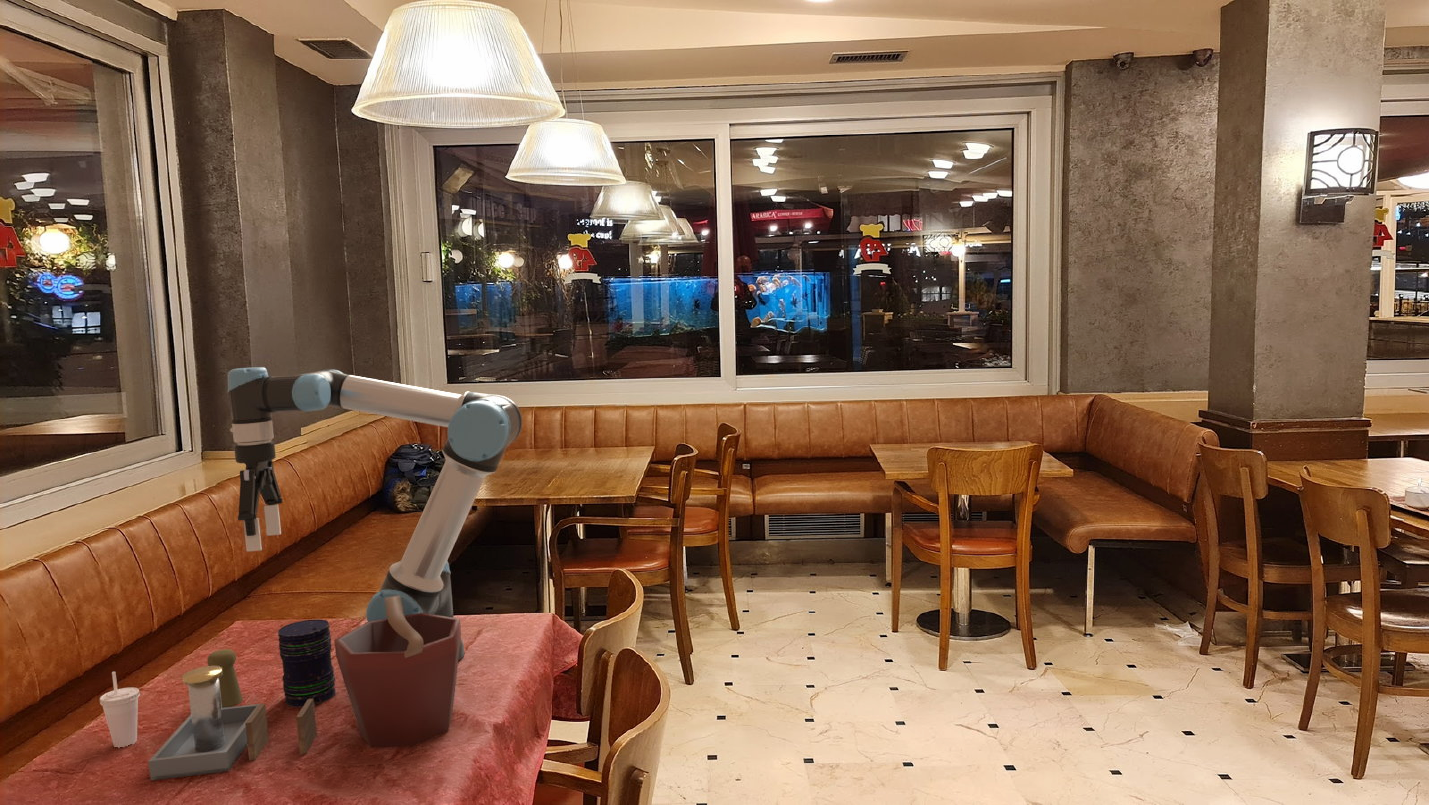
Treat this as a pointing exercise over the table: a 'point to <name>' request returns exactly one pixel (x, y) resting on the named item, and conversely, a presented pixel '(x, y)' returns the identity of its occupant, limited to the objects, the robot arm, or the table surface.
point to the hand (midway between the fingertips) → (264, 542)
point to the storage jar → (306, 662)
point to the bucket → (401, 675)
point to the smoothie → (121, 714)
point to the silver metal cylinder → (206, 707)
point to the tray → (186, 761)
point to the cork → (227, 677)
